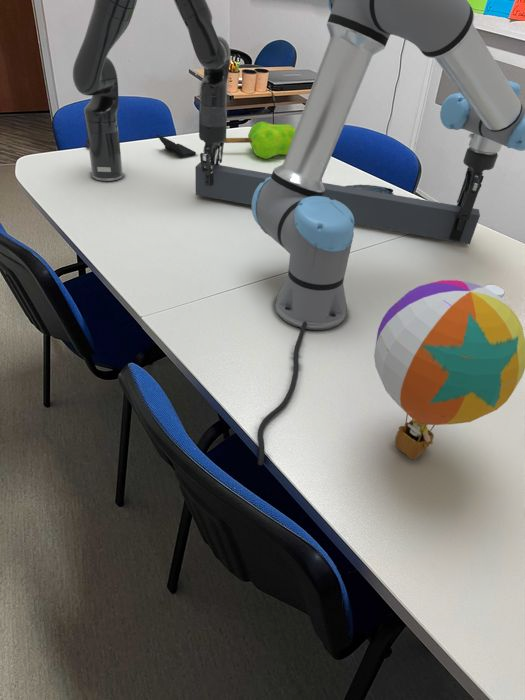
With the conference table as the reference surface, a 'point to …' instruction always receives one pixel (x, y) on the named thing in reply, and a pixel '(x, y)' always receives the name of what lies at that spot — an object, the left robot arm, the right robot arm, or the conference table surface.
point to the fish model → (373, 188)
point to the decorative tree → (268, 139)
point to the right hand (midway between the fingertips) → (454, 235)
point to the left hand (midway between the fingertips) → (211, 182)
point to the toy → (448, 357)
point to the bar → (351, 204)
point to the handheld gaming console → (176, 148)
